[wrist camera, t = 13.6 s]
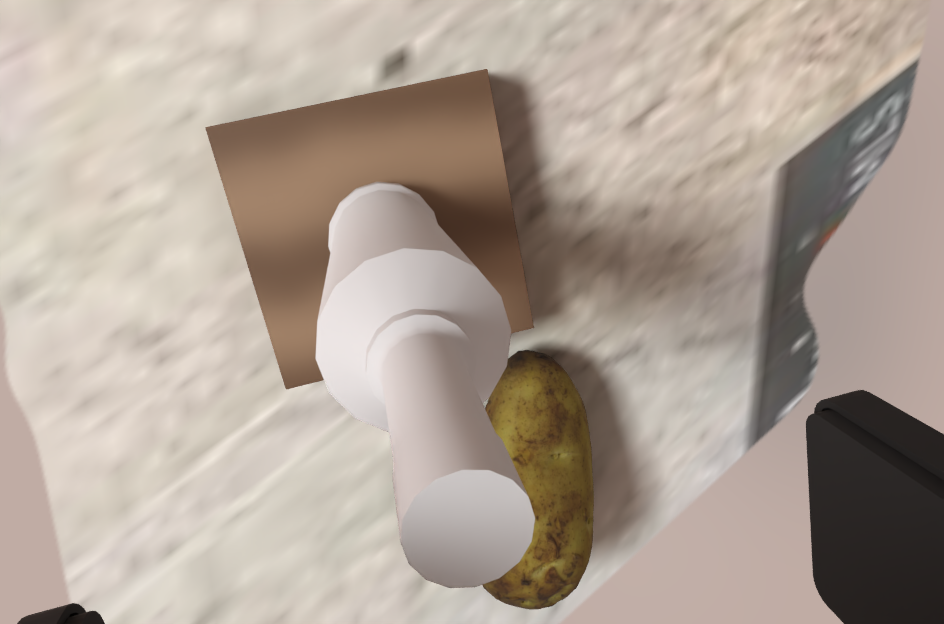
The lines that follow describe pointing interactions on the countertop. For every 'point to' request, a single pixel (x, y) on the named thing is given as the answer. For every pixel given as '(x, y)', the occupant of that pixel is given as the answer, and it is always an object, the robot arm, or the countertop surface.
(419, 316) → the bottle
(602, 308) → the countertop surface
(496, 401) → the potato
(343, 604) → the countertop surface
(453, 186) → the walnut plinth
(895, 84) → the countertop surface
